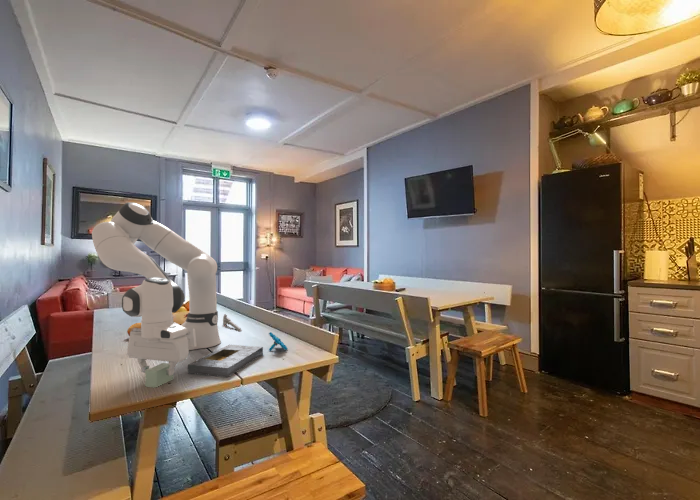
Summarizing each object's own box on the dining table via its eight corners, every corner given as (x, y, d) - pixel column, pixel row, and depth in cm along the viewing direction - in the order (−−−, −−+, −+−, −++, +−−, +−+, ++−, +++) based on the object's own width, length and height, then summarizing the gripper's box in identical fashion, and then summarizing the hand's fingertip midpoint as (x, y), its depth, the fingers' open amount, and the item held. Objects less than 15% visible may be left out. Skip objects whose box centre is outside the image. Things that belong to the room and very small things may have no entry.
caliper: (222, 325, 185) (222, 314, 185) (224, 325, 186) (224, 313, 186) (240, 332, 171) (240, 319, 171) (242, 331, 171) (242, 319, 171)
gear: (288, 349, 135) (270, 332, 134) (278, 360, 133) (259, 343, 133) (288, 345, 146) (271, 329, 145) (278, 355, 144) (261, 339, 144)
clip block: (145, 386, 103) (145, 370, 103) (162, 378, 110) (162, 362, 110) (156, 388, 102) (156, 371, 102) (173, 379, 109) (173, 363, 109)
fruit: (154, 333, 162) (145, 320, 159) (139, 344, 157) (130, 332, 153) (146, 330, 167) (137, 318, 163) (131, 342, 161) (121, 329, 157)
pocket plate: (188, 373, 113) (188, 364, 113) (229, 352, 137) (229, 344, 137) (227, 377, 110) (227, 368, 110) (262, 354, 133) (262, 347, 133)
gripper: (121, 329, 105) (121, 373, 105) (177, 333, 100) (177, 380, 100) (138, 325, 111) (138, 367, 111) (191, 329, 106) (191, 372, 106)
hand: (157, 373), depth 106 cm, fingers open, 8 cm apart
